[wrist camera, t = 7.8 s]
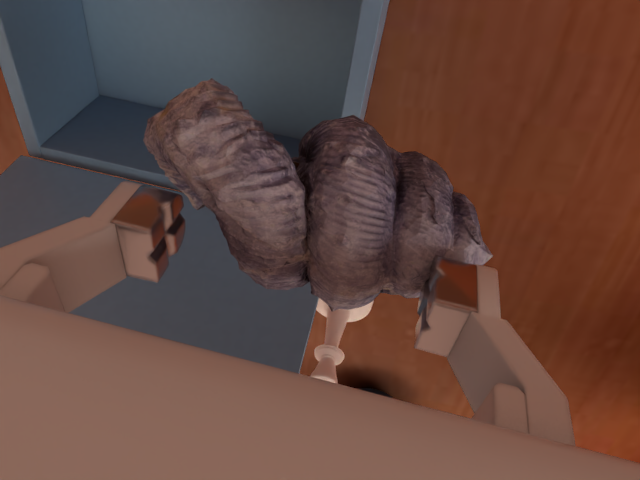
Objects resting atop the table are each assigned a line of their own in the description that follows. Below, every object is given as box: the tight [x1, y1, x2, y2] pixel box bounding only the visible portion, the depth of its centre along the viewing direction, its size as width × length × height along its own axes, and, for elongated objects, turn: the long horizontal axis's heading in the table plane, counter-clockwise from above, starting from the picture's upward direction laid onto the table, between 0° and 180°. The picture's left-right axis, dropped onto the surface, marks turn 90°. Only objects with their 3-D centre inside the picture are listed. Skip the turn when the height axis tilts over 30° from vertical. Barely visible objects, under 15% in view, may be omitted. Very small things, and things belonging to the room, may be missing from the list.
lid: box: [0, 155, 319, 373], centre depth 22 cm, size 14×17×5 cm
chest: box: [0, 0, 390, 191], centre depth 23 cm, size 14×17×7 cm
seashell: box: [143, 78, 493, 312], centre depth 14 cm, size 5×5×10 cm
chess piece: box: [310, 298, 374, 384], centre depth 35 cm, size 5×5×10 cm
